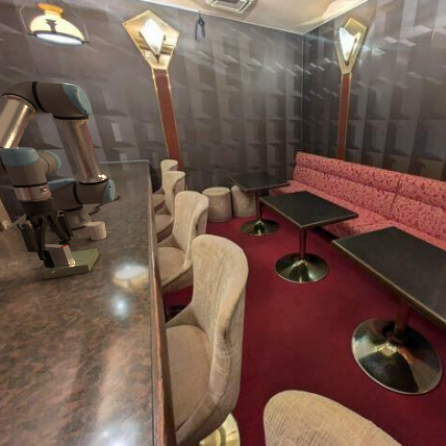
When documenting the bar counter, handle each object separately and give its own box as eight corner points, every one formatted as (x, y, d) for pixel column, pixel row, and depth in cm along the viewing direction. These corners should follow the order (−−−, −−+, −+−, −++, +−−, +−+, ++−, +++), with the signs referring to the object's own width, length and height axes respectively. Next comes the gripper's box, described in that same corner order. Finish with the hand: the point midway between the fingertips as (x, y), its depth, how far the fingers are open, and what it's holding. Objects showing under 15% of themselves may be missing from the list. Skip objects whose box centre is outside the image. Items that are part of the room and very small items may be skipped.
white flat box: (45, 264, 86) (38, 245, 83) (51, 261, 87) (44, 242, 85) (69, 265, 85) (62, 247, 82) (74, 263, 87) (68, 244, 84)
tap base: (49, 262, 92) (46, 255, 91) (98, 255, 98) (96, 248, 97) (28, 285, 79) (25, 277, 78) (87, 275, 85) (85, 267, 84)
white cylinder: (97, 241, 109) (93, 227, 107) (85, 239, 110) (80, 225, 108) (111, 235, 116) (108, 221, 113) (99, 233, 117) (95, 220, 114)
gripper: (12, 208, 69) (41, 278, 77) (74, 192, 86) (92, 250, 94) (-13, 206, 69) (19, 276, 78) (54, 190, 86) (74, 249, 95)
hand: (59, 262), depth 86 cm, fingers open, 6 cm apart
